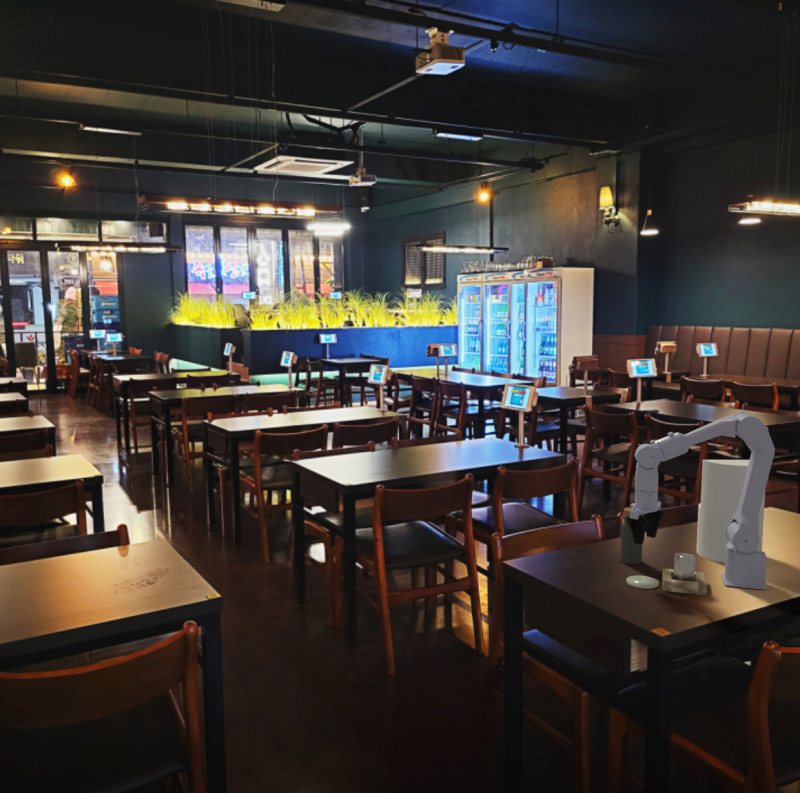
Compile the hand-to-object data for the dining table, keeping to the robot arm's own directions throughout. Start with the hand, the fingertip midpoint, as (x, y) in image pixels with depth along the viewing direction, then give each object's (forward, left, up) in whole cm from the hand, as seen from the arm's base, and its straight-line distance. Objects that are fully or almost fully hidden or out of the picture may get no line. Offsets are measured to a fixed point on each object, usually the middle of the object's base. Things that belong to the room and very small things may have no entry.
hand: (644, 540), depth 193 cm
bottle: (+3, -11, -10) cm, 15 cm away
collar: (-10, +5, -10) cm, 15 cm away
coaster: (0, +6, -10) cm, 11 cm away
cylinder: (-24, -26, -10) cm, 37 cm away
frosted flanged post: (-10, +5, -10) cm, 15 cm away
